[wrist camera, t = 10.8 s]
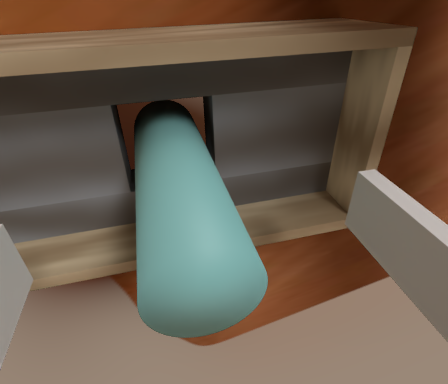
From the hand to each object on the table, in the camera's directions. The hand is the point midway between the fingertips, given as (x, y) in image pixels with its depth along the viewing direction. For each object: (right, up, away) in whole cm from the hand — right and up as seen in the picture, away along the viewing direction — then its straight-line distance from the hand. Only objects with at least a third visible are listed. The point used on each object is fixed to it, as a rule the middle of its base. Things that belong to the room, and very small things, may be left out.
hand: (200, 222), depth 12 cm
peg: (-3, +5, +9) cm, 11 cm away
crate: (-3, +6, +9) cm, 11 cm away
